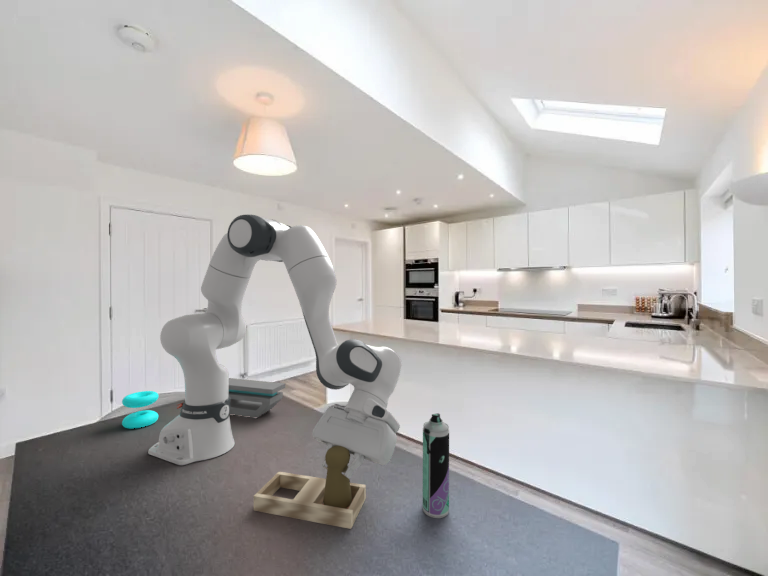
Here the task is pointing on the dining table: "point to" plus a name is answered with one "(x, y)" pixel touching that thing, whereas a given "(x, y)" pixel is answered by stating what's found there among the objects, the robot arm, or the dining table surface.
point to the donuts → (140, 417)
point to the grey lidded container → (253, 396)
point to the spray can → (436, 467)
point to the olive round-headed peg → (337, 478)
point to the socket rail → (308, 500)
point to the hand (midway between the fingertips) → (335, 472)
